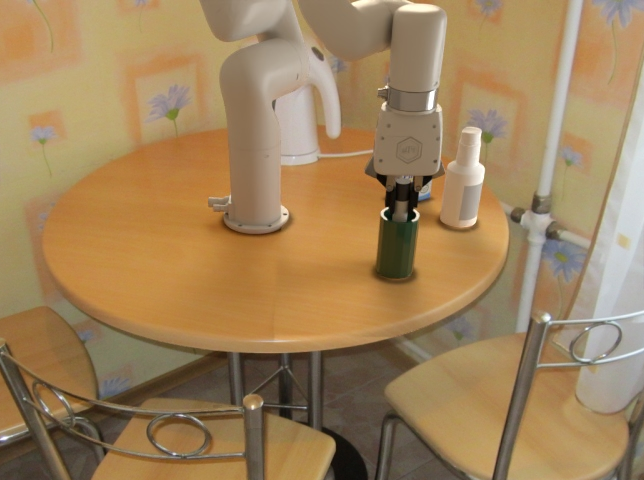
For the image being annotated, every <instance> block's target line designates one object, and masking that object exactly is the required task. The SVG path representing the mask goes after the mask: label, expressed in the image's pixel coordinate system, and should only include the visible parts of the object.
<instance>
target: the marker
mask: <svg viewBox="0 0 644 480" xmlns="http://www.w3.org/2000/svg"><path fill="white" fill-rule="evenodd" d="M410 187H411V180H409V179H407V178H399V179H397V180H396V185H395V189H396V199H395V209H394V214H393V216H392V221H396V222H407V215H408V205H409V196H410Z"/></svg>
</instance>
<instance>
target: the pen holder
mask: <svg viewBox="0 0 644 480" xmlns="http://www.w3.org/2000/svg"><path fill="white" fill-rule="evenodd" d="M392 216H393V215H392V214H389V208H388V207H384V208H383V209H382V210H381V211H379V221H378V231H377V232H378V233H377V243H376V244H377V247H376V257H375V271H376V272H377V273H378V274H379V275H380V276H382V277H385V278H388V279H395V280H396V279H404V278H407V277H409V276H411V275H413V272H414V269H415V263H416V254H417V253H416V252H417V244H418V236H419V229H420V221H421V215H420V212H418V210H416V209H415V208H414V210H413V215H409V214H408V215H407V222H396V221H392Z"/></svg>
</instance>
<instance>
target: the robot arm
mask: <svg viewBox="0 0 644 480" xmlns="http://www.w3.org/2000/svg"><path fill="white" fill-rule="evenodd" d="M199 3H200V6H201V10H202V12H203V15H204V18H205V20H206V23H207V25H208V27H209V30H210V31H211V33H212V35H213V36H214V37H215V38H216V39H217V40H218V41H220V42H224V43H231V42H237V41H241V40H245V39H248V38H250V37H254V36H256V40H257V43H254V44H251V45H248V46H244V47H242V48H240V49H238V50H236V51H234V52H232V53H231V54H230V55H228V56H227V57H226V58H225V59H224V61H223V62H222V64H221V65H220V69H219V74H218V82H219V83H218V84H219V88H220V93H221V96H222V101H223V105H224V106H223V107H224V110H225V119H226V128H227V143H228V163H229V165H228V167H229V188H230V191H229V195H224V197H218V196H209V197H208V198H207V206H208V208H212V212H213V213H221V212H223V223H224V224H225V225H226V226H227V227H228V228H229V229H231V230H233V231H235V232H238V233H242V234H247V235H248V234H249V235H263V234H270V233H273V232H276V231H278V230H281V229H282V228H283V227H282V226H284V225H285V224H286V223H287V222H288V221H289V219H290V212H289V209H287V208H286V207H285V206H284V205H283V204H282V140H281V138H282V137H281V136H282V135H281V134H282V133H281V125H280V121H279V118H278V117H277V114H276V112H275V110H274V108H273V101H275V100H278V99H280V98H282V97H285V96H287V95H289V94H291V93H294V92H295V91H297V90H299V89H300V88H302V87H303V86H304V85H305V84H306V82H307V80H308V78H309V74H310V65H311V64H310V56H309V52H308V49H307V46H306V43H305V38H304V36H303V33H302V29H301V26H300V23H299V19H298V16H297V14H296V10H295V6H294V4H293V0H199ZM297 4H298V8H299V10H300V13H301V15H302V17H303V19H304V21H305V22H306V24H307V26H308V27H309V28H310V29H311V31H312V32H313V34H314V35H315V36H316V37H317V39H318V40H319V42H320V43H321V44H322V45H323V47H324V48H325V49H326V50H327V51H328V52H329V53H330V54H331V55H332V56H334V57H335V58H337V59H338V60H340V61H343V62H348V63H349V62H350V63H353V62H358V61H361V60H363V59H366V58H368V57H370V56H372V55H376V54H379V53H383V52H386V51H387V52H388V51H389V62H388V75H387V82H386V85H385V86H384V87H382V88H377V89H376V99H381V100H384V102H383V103H382V104H381V106H380V109H379V114H378V117H377V123H376V129H375V133H374V141H373V148H372V154H371V155H370V156H369V159H368V161H367V162H366V164H365V166H364V167H363V169H364V170H363V171H364V174H365V175H366V176H369V177H371V178H373V179H376V180H377V181H378V182H379V184H381V185H382V186H383V187H384V188H385V195H384V208H387V207H388V208H389V214H392V215H393V214H394V209H395V199H396V189H395V185H394V180H395V175H403V176H413V182H412V183H411V187H410V196H409V205H408V214H409V215H413V210H414V209H415V208H418V205H419V201H418V198H419V192H420V191H421V190H422V188H423V187H424V186H425V185H426V184H427V183H429V182H430V181H431V180H432V181H433V180H435V179H438V178H440V177H442V176H444V175H446V169H445V166H444V164H443V160H442V146H443V132H444V131H443V130H444V129H443V128H444V126H443V125H444V123H443V122H444V118H443V116H444V115H443V107H441V105H440V104H439V103H438V101H439V92H440V84H441V75H442V68H443V59H444V51H445V44H446V36H447V27H448V14H447V12H446V10H444V8H442V7H440V6H438V5H435V4H431V3H416V2H412V1H410V0H356V1H353V2H351V1H350V0H297Z"/></svg>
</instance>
